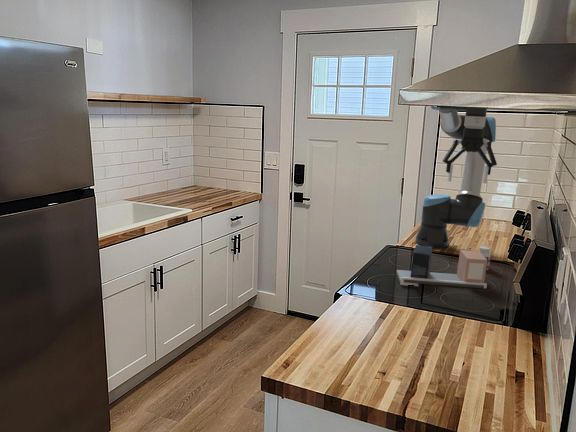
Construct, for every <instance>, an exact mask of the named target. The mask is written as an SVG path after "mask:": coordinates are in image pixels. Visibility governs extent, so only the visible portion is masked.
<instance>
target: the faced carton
mask: <svg viewBox="0 0 576 432" xmlns="http://www.w3.org/2000/svg"><path fill="white" fill-rule="evenodd" d="M486 266H487V259H486V258H485V257H484V256H483V255H482V254H481V253H480V252H479V250H476V251H475V250H465V249H463V250H462V249H460V250H459V257H458V263H457V270H456V274H457V276H458V278H459V279H460V280H461V281H462V282H476V283H485V279H486V271H487V270H486Z"/></svg>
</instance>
